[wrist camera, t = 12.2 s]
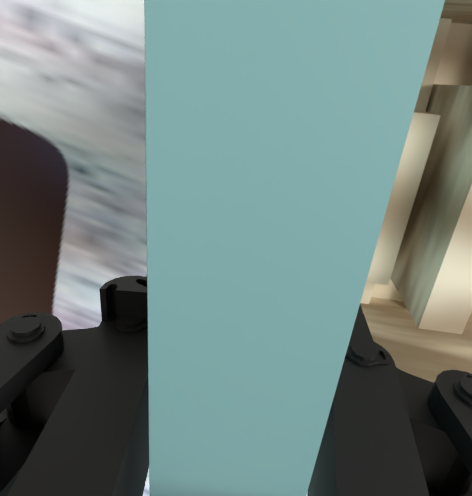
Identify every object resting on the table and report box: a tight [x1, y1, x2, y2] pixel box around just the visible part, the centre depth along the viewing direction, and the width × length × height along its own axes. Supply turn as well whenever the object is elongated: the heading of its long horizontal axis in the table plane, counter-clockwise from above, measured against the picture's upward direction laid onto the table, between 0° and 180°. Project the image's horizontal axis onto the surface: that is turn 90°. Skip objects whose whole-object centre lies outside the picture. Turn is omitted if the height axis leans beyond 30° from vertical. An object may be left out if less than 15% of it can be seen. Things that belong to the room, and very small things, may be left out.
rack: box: [360, 0, 472, 382], centre depth 22 cm, size 22×15×14 cm
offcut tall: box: [390, 84, 472, 334], centre depth 23 cm, size 13×2×9 cm, turn 175°
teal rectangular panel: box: [144, 0, 445, 496], centre depth 15 cm, size 16×2×22 cm, turn 175°
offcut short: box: [366, 109, 441, 285], centre depth 24 cm, size 10×2×7 cm, turn 175°
